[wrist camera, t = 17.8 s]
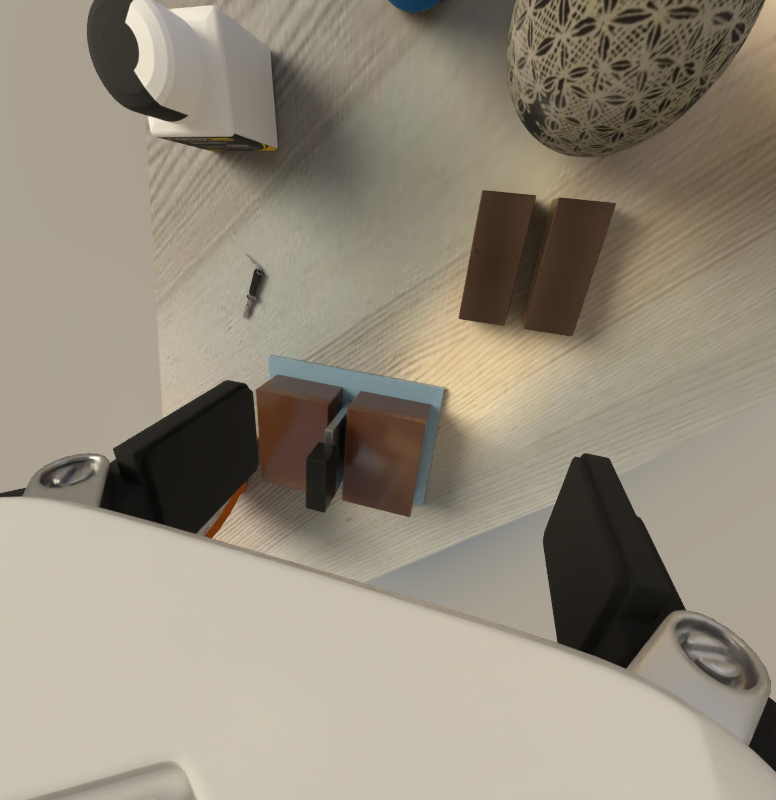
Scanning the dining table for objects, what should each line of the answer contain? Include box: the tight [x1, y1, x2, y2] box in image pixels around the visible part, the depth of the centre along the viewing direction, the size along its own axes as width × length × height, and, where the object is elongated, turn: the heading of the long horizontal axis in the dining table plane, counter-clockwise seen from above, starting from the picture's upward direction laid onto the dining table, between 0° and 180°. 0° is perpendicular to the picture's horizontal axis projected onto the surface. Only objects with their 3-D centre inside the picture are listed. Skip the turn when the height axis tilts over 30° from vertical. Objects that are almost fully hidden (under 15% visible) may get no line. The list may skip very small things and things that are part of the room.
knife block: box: [459, 190, 616, 336], centre depth 31 cm, size 10×10×3 cm
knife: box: [243, 254, 263, 319], centre depth 40 cm, size 6×1×3 cm
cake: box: [256, 355, 445, 517], centre depth 42 cm, size 20×16×5 cm
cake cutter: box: [306, 400, 353, 513], centre depth 40 cm, size 2×9×10 cm, turn 174°
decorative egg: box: [507, 0, 765, 157], centre depth 20 cm, size 12×12×15 cm
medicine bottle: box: [87, 0, 278, 151], centre depth 28 cm, size 7×7×12 cm
